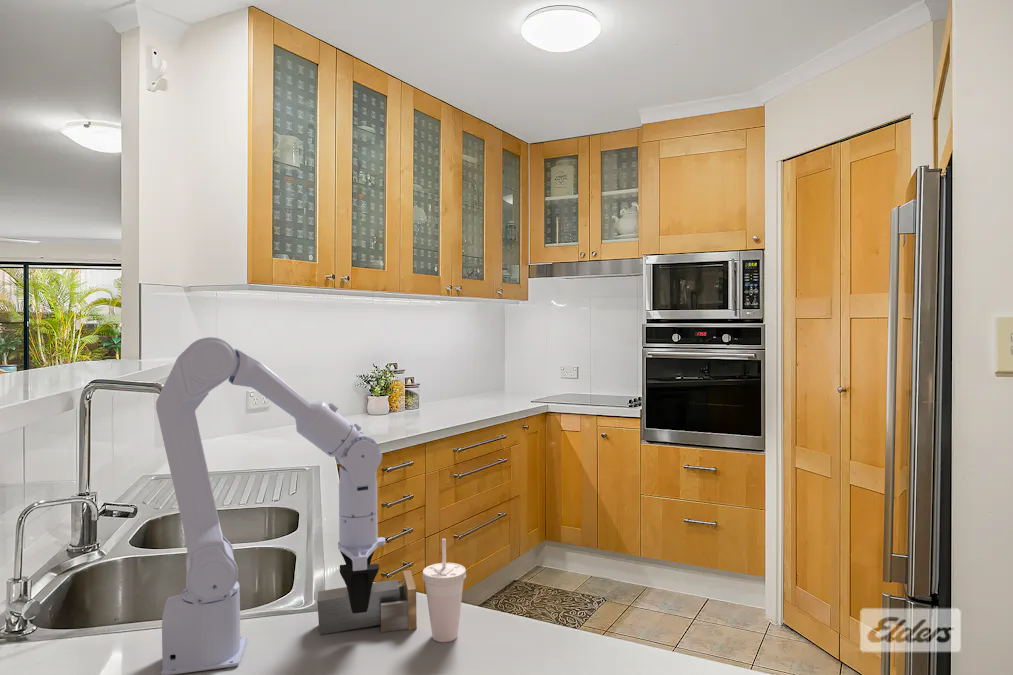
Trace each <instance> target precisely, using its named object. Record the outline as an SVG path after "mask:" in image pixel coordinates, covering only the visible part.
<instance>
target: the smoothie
mask: <svg viewBox="0 0 1013 675" xmlns="http://www.w3.org/2000/svg"><path fill="white" fill-rule="evenodd" d="M441 552H442V553H441V554H442V555H441V557H442V559H441V562H440V563H439V562H438V563H433V564H431V565H428V566H426V567H424V568H423V570H422V575H421V576H422V580H423V582H424V584H425V586H424V587H425V592H426V599H427V608H428V614H429V622H430V628H431V635H432V639H433V640H434V641H436V642H438V643H448V642H453V641H455V640H456V639H457V638H458V635H459V627H460V618H461V609H462V608H461V607H462V599H463V597H462V596H463V589H464V580H465V579H466V577H467V570H466V567H465V566H464V565H462V564H460V563H456V562H455V563H454V562H447V539H446V538H441Z"/></svg>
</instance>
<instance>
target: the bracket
mask: <svg viewBox="0 0 1013 675" xmlns="http://www.w3.org/2000/svg"><path fill="white" fill-rule="evenodd" d="M402 580H403V581H402V583H401V584H398V585H399V591H400V601H396V602H387V603H381V625H380V631H381V633H388V632H393V631H394V632H395V631H402V630H408V631H412V630H417V629H418V628H417V621H418V620H417V587H416V583H415V581H414V577H413V574H412V570H410V569H409V570H408V569H407V570H402Z"/></svg>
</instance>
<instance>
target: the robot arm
mask: <svg viewBox="0 0 1013 675" xmlns="http://www.w3.org/2000/svg"><path fill="white" fill-rule="evenodd" d="M227 380H228V383H230V384H231V385H233V386H238V387H239V386H241V387H245V388H246V387H247V388H252V389H253V390H255V391H256V392H258V393H260V395H262V396H264V397H265V398H266V399H267V400H269V401H270V402H272V403H273V404H274V405H276V406H277V407H279V408H280V409H282V411H284V412H285V413H287V414H289V416H291V417H293V418H294V419H295V425H296V432H297V433H298V435H300V436H302V437H303V438H304V439H306V440H307V441H308V442H310V443H311V444H313V445H314V446H315V447H317V448H318V449H319V450H321V451H322V452H323V453H324V454H325V455H327V456H328V457H332V458H334V461H335V462H336V463H337V464H338V465H341V466H339V484H338V511H339V512H338V519H339V520H338V522H339V523H338V525H339V526H338V533H339V534H338V535H339V536H338V539H339V541H338V542H337V549H338V550H339V552H340V555H341V556H342V559H343V561H344V563H345V564H340V565H339V573H340V576H341V578H342V579H343V582H344V584H345V587H347V590H348V594H349V600H350V606H351V610H352V613H353V614H354V613H363V612H367V609H368V605H369V600H370V594H371V589H372V585H373V583H375V582H374V581H375V578H376V576H377V574H378V573H379V570H380V564H379V563H371V562H372V559H373V556H374V553H375V551H376V549H377V548H378V547H382V546H385V545H386V538H385V537H382V536H381V537H378V536H379V535H378V481H377V469H378V468H379V466H380V464H381V463H382V460H383V453H381V449H380V448H379V444H378V443H377V441H375V440H374V439H373V438H371V437H369V436H368V435H366V434H364V432H363V431H361V430H362V426H360V425H359V424H358V423H354V424H352V423H351V422H350V421H349V420H347V419H346V418H345V417H344V416H342V415H341V414H340V413H339V412H338V409H339V407H337V405H335V404H334V403H332V402H329V403H328V404H327V403H326V402H325V401H323V400H319V401H318V400H317V401H313V402H312V401H309V400H307V399H306V398H305V397H304V396H302V395H301V394H300V393H298V391H296V390H295V389H294V388H292V386H290V385H289V384H288V383H286V382H285V381H284V380H283V379H281V377H279V376H278V375H277V374H276V373H275V372H273V371H272V370H271V369H270V368H268V367H267V366H266V365H265V364H264V363H262V362H261V361H259V360H258V359H256V358H254V357H252V356H250V355H249V354H247V353H246V352H243V351H241V349H238V348H233V347H232V345H231V344H230V343H229V342H227V341H226V340H224V339H221V338H219V337H214V336H213V337H211V336H209V337H202V338H199V339H197V340H195V341H193V342H191V344H190V345H188V347H187V348H185V349H184V351H183V352H181V354H180V355H179V356H178V357H177V358H176V360H175V362H174V364H173V366H172V368H171V370H170V372H169V375H168V376H167V378H166V380H165V382H164V384H163V387H162V389H161V390H160V393H159V395H158V397H157V399H156V402H155V409H156V413H157V419H158V422H159V427H160V428H159V429H160V431H161V436H162V441H163V444H164V449H165V454H166V457H167V462H168V466H169V472H170V475H171V476H170V477H171V481H172V484H173V485H172V486H173V488H174V492H175V493H174V494H175V497H176V501H177V505H178V511H179V515H180V519H181V524H182V528H183V533H184V538H185V539H184V540H185V546H186V549H187V550H186V555H185V567H186V568H185V569H186V574H185V575H186V577H185V585H186V586H185V588H184V589H183V590H182V592H181V594H178V595H172V596H169V597H167V599H166V601H165V604H164V607H163V612H162V617H161V618H162V621H161V650H162V652H161V656H162V657H161V658H162V661H161V663H162V670H161V672H160V674H161V675H178V674H179V675H180V674H187V673H195V672H201V671H209V670H216V669H217V670H218V669H223V668H225V669H226V668H231V667H237V666H239V665H240V663H241V660H242V657H243V653H244V650H245V647H246V644H247V641H248V636H246V635H245V636H244V635H243V636H241V602H240V601H241V597H240V596H241V593H240V592H241V591H240V582H239V581H238V577H239V568H238V565H237V563H236V561H235V557H234V552H235V551H234V547H233V545H232V544H231V542H230V541H229V540H228V539H227V538H226V537H225V536H224V534H223V532H222V528H221V523H220V519H219V514H218V509H217V506H216V505H217V504H216V501H215V496H214V492H213V487H212V483H211V478H210V474H209V469H208V465H207V461H206V460H207V459H206V457H205V452H204V451H205V450H204V447H203V446H204V445H203V443H202V438H201V434H200V429H199V424H198V420H197V415H196V410H197V409H198V408H199V406H200V405H201V404H202V402H203V401H204V400H205V398H207V397H208V395H209V393H210V392H212V391H213V390H214V389H215V388H217V387H218V386H220V385H221V384H223V383H224V382H225V381H227Z"/></svg>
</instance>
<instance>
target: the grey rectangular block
mask: <svg viewBox="0 0 1013 675" xmlns="http://www.w3.org/2000/svg"><path fill="white" fill-rule="evenodd" d="M398 581H399V580H398V578H397V579H391V580H384V581H377V582H373V585H372V589H371V594H370V600H369V605H368V609H367V612H363V613H354V614H353V613H352V610H351V606H350V600H349V594H348V590H347V587H346V586H345V587H339V588H331V589H326V590H325V589H324V590H319V591H317V599H316V600H317V601H316V602H317V614H318V618H317V619H318V634H319V636H323V635H328V634H332V633H333V634H334V633H340V632H345V631H351V630H355V629H356V630H358V629H361V628H362V629H363V628H369V627H374V626H379V625H381V603H387V602H396V601H400V591H399V585H400V584H399V582H398Z"/></svg>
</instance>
